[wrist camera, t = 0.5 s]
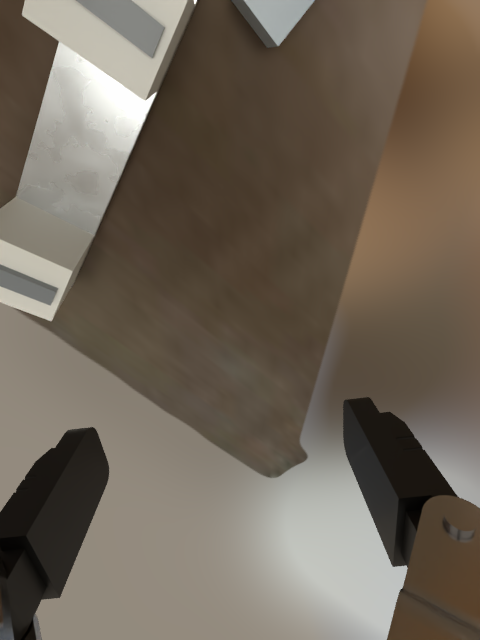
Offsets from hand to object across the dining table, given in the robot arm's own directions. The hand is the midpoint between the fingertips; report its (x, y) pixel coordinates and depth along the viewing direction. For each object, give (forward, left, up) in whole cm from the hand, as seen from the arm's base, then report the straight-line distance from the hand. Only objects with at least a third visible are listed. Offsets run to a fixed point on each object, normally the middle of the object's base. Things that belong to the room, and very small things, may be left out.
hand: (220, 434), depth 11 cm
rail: (-11, -3, -28) cm, 30 cm away
